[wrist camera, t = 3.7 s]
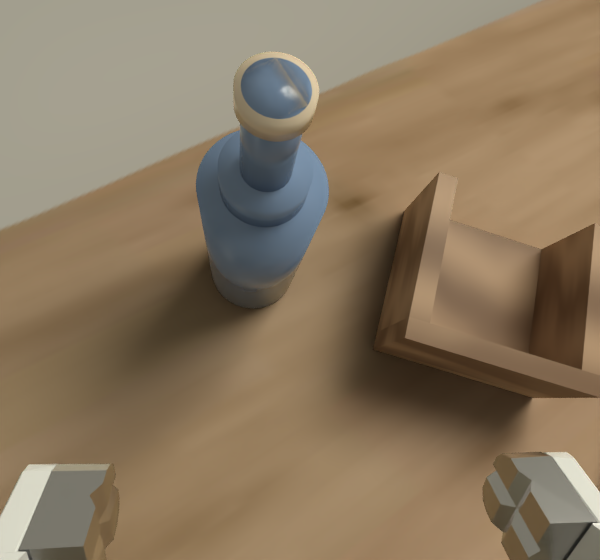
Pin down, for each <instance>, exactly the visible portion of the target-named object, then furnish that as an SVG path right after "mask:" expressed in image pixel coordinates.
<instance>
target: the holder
mask: <svg viewBox="0 0 600 560" xmlns="http://www.w3.org/2000/svg"><path fill="white" fill-rule="evenodd" d="M457 182H458V178H456V177H453V176H450V175H447V174H444V173H441V172H439V173H438V174H437V175H436V176H435V178H434V179H433V180H432V181H431V182H430V183H429V184H428V185H427V186H426V188H425V189H424V190H423V191H422V192H421V193H420V194H419V195H418V196H417V198H416V199H415V200H414V201H413V202H412V203H411V204H410V205H409V207H408V208H407V209H406V210H405V211H404V215H403V220H402V224H401V229H400V233H399V237H398V242H397V246H396V250H395V255H394V259H393V264H392V268H391V272H390V277H389V281H388V285H387V290H386V294H385V299H384V303H383V307H382V312H381V316H380V321H379V325H378V329H377V334H376V338H375V342H374V347H373V350H376V351H379V352H383V353H386V354H389V355H393V356H396V357H399V358H403V359H406V360H409V361H412V362H416V363H419V364H422V365H426V366H429V367H432V368H436V369H439V370H442V371H446V372H449V373H452V374H455V375H459V376H462V377H465V378H469V379H472V380H475V381H479V382H482V383H485V384H489V385H492V386H495V387H499V388H502V389H505V390H508V391H512V392H515V393H518V394H522V395H525V396H528V397H532V398H598V397H600V225H599V224H596V223H595V224H593V225H590V226H588V227H586V228H584V229H582V230H580V231H578V232H576V233H574V234H572V235H570V236H568V237H566V238H564V239H562V240H560V241H558V242H556V243H554V244H552V245H550V246H548V247H546V248H544V249H539V248H536V247H532V246H529V245H526V244H523V243H520V242H517V241H514V240H511V239H508V238H505V237H502V236H498V235H495V234H492V233H489V232H486V231H483V230H480V229H477V228H474V227H471V226H468V225H465V224H461V223H458V222H455V221H452V220H450V218H451V212H452V207H453V202H454V197H455V192H456V187H457Z"/></svg>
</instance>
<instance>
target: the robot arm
mask: <svg viewBox="0 0 600 560" xmlns="http://www.w3.org/2000/svg"><path fill="white" fill-rule="evenodd" d="M493 465H494V467H495V469H496V471H495V472H494V473H492V474H491V475H489V476H488V477H487V478H486V480H485V483H484V485H483V502H484V506H485V509H486V512H487V514H488V516H489V518H490V520H491V522H492V523H493V524H494V525H495V526H496V527H498V528H499V529H500V530H501V531H502V532H503V535H502V542H501V543H502V545H503V547H504V549H505V551H506V553H507V555H508V557H509V559H510V560H600V492H599V491H598V489H597V488H596V487H595V485H594V484H593V483H592V481H591V480H590V479H589V477H588V476H587V475H586V473H585V472H584V471H583V469H582V468H581V467H580V465H579V464H578V463H577V461H576V460H575V459H574V458H573V457H572V456H571V455H570V454H568V453H567V452H546V453H542V452H527V453H503V454H501V455H499V456H497V457H496V459H495V461H494V463H493ZM115 476H116V473H115V469H114V464H29V465H28V466H27V467H26V468H25V470H24V471H23V472H22V473H21V475H20V477H19V479H18V481H17V483H16V485H15V487H14V489H13V491H12V493H11V495H10V497H9V499H8V501H7V503H6V505H5V507H4V509H3V511H2V513H1V515H0V560H107V559H106V554H105V548H106V547H107V546H108V545H109V544H110V543H111V542H112V541H113V540H114V536H115V531H116V527H117V522H118V514H119V492H118V489H117V488H116V487H115V486H113V483H114V479H115Z"/></svg>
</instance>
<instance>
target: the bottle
mask: <svg viewBox="0 0 600 560" xmlns="http://www.w3.org/2000/svg"><path fill="white" fill-rule="evenodd" d="M233 91H234V92H233V99H234V100H233V103H234V111H235V114H236V117H237V119H238V121H239V122H240V130H239V131H236V132H234V133H231V134H229V135H227V136H225V137H223V138H222V139H221V140H219V141H218V142H217V143H215V144H214V145H213V146H212V147H211V148H210V150H209V151H208V152H207V153H206V155H205V156H204V158H203V160H202V162H201V164H200V166H199V169H198V173H197V179H196V192H197V197H198V203H199V208H200V214H201V219H202V224H203V229H204V235H205V240H206V245H207V251H208V256H209V261H210V267H211V272H212V277H213V281H214V284H215V286H216V288H217V289H218V291H219V292H220V293H221V294H222V296H223V297H224V298H226V299H227V300H228V301H230V302H231V303H233V304H235V305H237V306H240V307H244V308H261V307H265V306H268V305H270V304H272V303H274V302H276V301H277V300H279V299H280V298H281V297H282V296H283V295H284V294H285V292H286V291H287V290H288V288H289V286H290V284H291V282H292V279H293V277H294V275H295V273H296V271H297V269H298V267H299V265H300V263H301V261H302V258H303V256H304V254H305V252H306V250H307V248H308V246H309V244H310V242H311V239H312V237H313V235H314V233H315V231H316V229H317V227H318V225H319V223H320V221H321V218H322V216H323V214H324V212H325V209H326V206H327V202H328V196H329V187H328V180H327V176H326V172H325V170H324V167H323V165H322V163H321V162H320V160H319V158H318V157H317V156H316V154H315V153H314V152H313V151H312V150H311V149H310V148H309V147H308V146H307V145H306V144H305V143H303V142H302V141H301V137H302V133H304V132H305V131H306V130H307V128H308V127H309V126H310V124H311V122H312V119H313V116H314V113H315V109H316V106H317V102H318V97H319V86H318V83H317V80H316V77H315V75H314V74H313V72H312V71H311V69H310V68H309V67H308V66H307V65H306V64H305V63H303V62H302V61H301V60H299V59H298V58H295V57H294V56H291V55H289V54H285V53H281V52H264V53H259V54H256V55H254V56H252V57H250V58H248V59H247V60H246V61H244V62H243V63H242V64H241V66H240V67H239V68H238V70H237V72H236V74H235V77H234V85H233Z"/></svg>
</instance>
